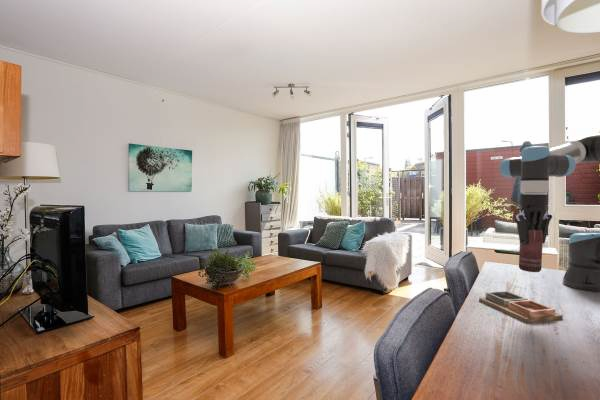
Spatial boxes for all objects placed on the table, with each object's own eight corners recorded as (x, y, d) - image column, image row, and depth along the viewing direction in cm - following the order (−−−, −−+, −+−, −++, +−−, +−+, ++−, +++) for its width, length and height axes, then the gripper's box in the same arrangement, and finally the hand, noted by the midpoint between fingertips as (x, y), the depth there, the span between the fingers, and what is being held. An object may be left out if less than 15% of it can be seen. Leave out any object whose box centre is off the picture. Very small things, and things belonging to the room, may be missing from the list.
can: (524, 272, 105) (526, 229, 104) (515, 267, 111) (517, 227, 110) (545, 273, 104) (547, 230, 103) (535, 268, 110) (537, 227, 109)
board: (510, 298, 124) (510, 290, 124) (562, 319, 104) (562, 309, 104) (479, 300, 121) (479, 292, 121) (526, 322, 101) (526, 312, 101)
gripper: (539, 193, 111) (537, 261, 112) (507, 193, 108) (505, 262, 109) (561, 194, 104) (558, 266, 105) (527, 194, 101) (524, 268, 102)
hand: (531, 264), depth 107 cm, fingers closed
